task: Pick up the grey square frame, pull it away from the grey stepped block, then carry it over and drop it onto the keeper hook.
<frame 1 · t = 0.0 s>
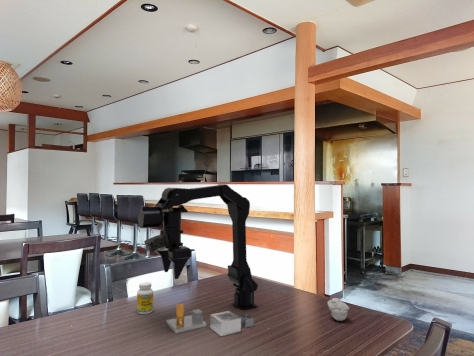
hand: (171, 275, 108), 15 cm above the table, fingers open, 9 cm apart
supplement bottle: (144, 312, 116), on the table
grey stone carving: (338, 320, 111), on the table
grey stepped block: (245, 324, 106), on the table
keeper hook: (186, 324, 106), on the table
grey square frame: (225, 329, 103), on the table
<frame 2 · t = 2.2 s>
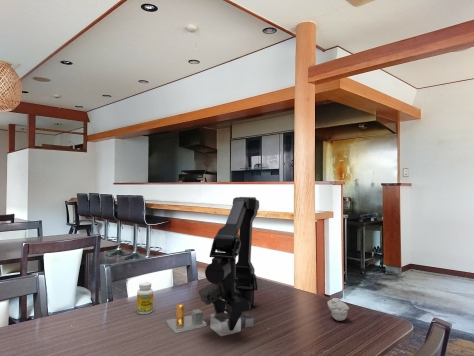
hand: (225, 326, 103), 1 cm above the table, fingers closed on grey square frame, 7 cm apart
grey square frame: (225, 329, 103), on the table, touching gripper
everything else where it was.
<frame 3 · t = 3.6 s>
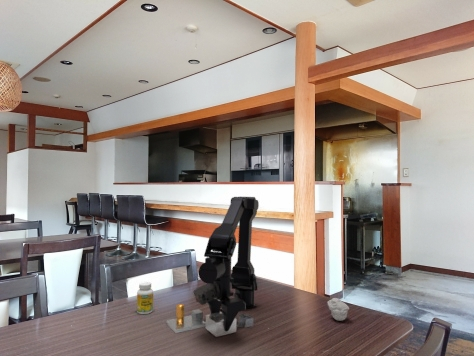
hand: (220, 326, 102), 1 cm above the table, fingers closed on grey square frame, 7 cm apart
grey square frame: (220, 330, 102), on the table, touching gripper
everything else where it was.
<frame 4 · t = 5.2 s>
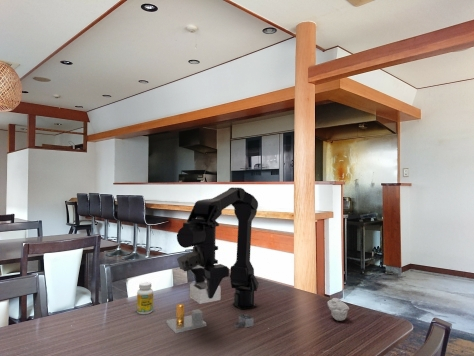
hand: (205, 294, 101), 11 cm above the table, fingers closed on grey square frame, 7 cm apart
grey square frame: (204, 298, 101), point 10 cm above the table, touching gripper
everything else where it was.
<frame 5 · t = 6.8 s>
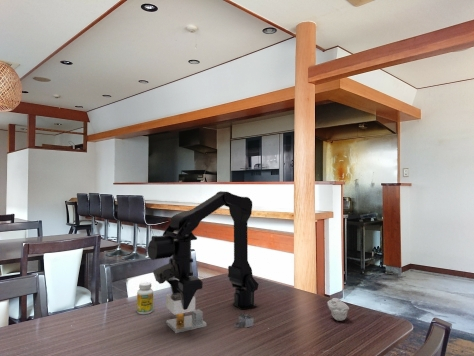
hand: (180, 305, 105), 6 cm above the table, fingers closed on grey square frame, 7 cm apart
grey square frame: (180, 309, 105), point 5 cm above the table, touching gripper
everything else where it was.
when the fingers open (3 cm above the table, at t = 8.0 s): grey square frame drops 1 cm, resting on keeper hook.
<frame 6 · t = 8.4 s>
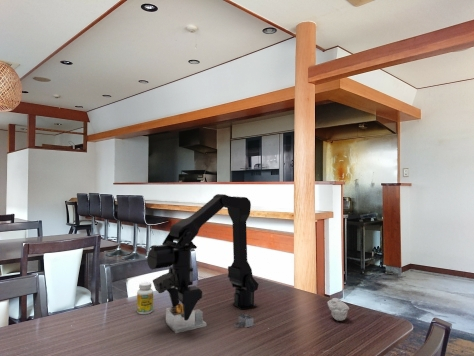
hand: (180, 314, 105), 3 cm above the table, fingers open, 9 cm apart
grey square frame: (180, 322, 104), point 1 cm above the table, touching keeper hook
everything else where it was.
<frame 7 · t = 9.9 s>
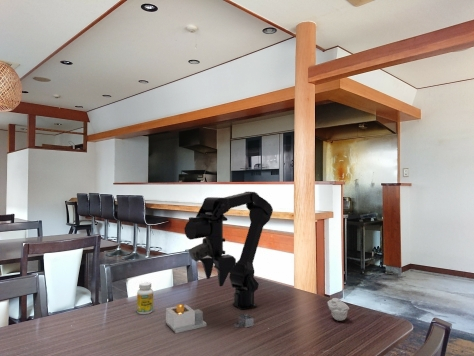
hand: (214, 282, 112), 12 cm above the table, fingers open, 9 cm apart
nothing on the table moved.
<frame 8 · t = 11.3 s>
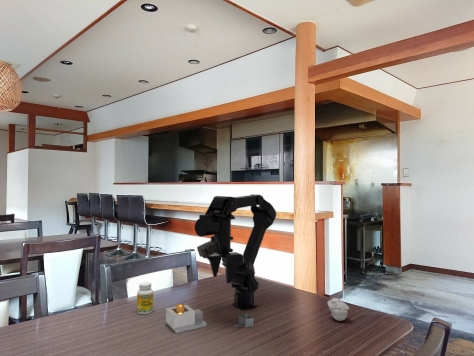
hand: (221, 279, 113), 12 cm above the table, fingers open, 9 cm apart
nothing on the table moved.
at the end: grey square frame 0.0 cm from the target spot on the keeper hook, point 1.0 cm above the keeper hook's base; grey square frame tilted 0°; the gripper is holding nothing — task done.
